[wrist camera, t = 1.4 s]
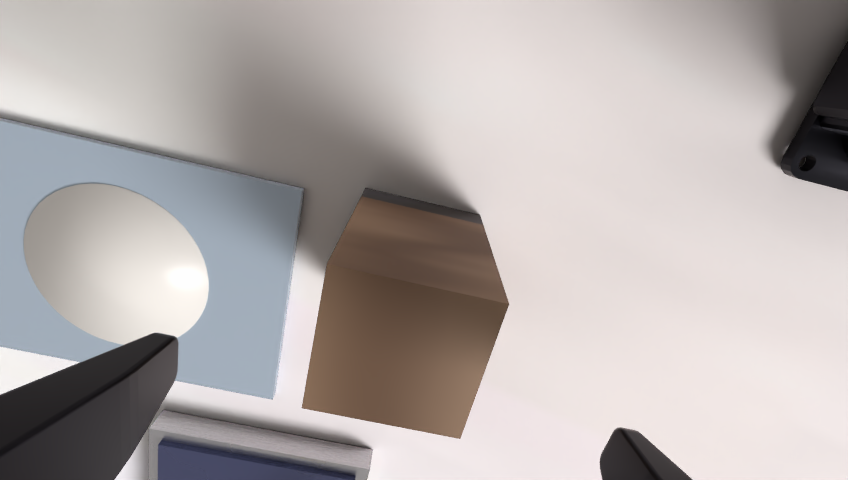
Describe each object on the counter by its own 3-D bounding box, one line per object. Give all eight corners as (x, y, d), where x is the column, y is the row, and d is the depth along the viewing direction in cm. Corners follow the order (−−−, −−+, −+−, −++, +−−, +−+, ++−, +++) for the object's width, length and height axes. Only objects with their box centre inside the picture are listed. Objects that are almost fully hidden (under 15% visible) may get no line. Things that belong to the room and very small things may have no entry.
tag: (304, 188, 15) (301, 191, 14) (275, 394, 18) (272, 400, 18) (-74, 100, 14) (-86, 101, 13) (-31, 334, 17) (-41, 339, 17)
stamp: (479, 215, 15) (509, 303, 10) (449, 312, 17) (459, 438, 11) (365, 187, 15) (326, 263, 9) (345, 289, 16) (301, 408, 11)
